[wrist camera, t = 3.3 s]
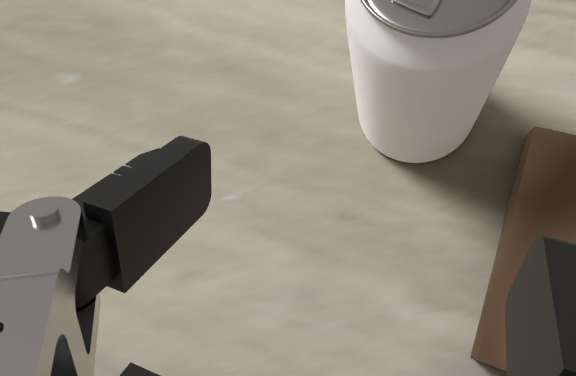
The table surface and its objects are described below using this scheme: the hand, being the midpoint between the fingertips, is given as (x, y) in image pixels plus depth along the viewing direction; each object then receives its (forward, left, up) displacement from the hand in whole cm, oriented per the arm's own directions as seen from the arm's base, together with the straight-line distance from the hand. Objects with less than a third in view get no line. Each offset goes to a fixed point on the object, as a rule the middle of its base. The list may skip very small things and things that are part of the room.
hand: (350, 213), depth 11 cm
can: (0, -9, -14) cm, 17 cm away
